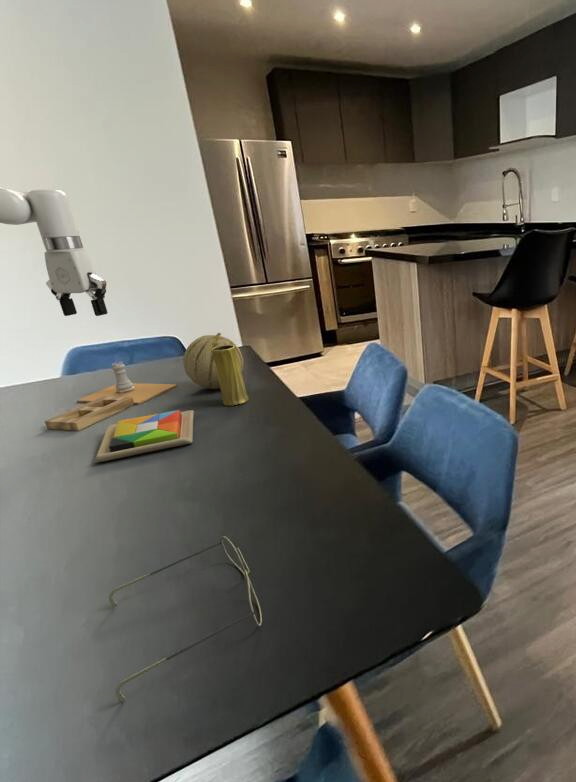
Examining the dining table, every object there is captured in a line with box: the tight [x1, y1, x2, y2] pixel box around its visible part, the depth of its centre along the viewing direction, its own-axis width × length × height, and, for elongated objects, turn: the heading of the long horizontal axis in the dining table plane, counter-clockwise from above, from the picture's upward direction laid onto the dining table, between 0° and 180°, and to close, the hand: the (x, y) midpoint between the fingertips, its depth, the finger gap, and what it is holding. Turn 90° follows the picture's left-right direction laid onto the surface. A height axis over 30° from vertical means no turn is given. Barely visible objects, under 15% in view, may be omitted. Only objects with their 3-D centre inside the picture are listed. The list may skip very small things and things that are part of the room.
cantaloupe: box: [182, 332, 244, 390], centre depth 134 cm, size 15×15×15 cm
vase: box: [212, 345, 250, 407], centre depth 122 cm, size 6×6×14 cm
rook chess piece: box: [110, 361, 135, 393], centre depth 135 cm, size 4×4×8 cm
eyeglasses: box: [108, 535, 263, 704], centre depth 57 cm, size 16×15×5 cm
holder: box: [44, 396, 135, 432], centre depth 121 cm, size 9×16×2 cm, turn 167°
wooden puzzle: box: [93, 409, 195, 464], centre depth 106 cm, size 18×19×4 cm
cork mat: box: [76, 382, 178, 405], centre depth 136 cm, size 20×14×1 cm
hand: (86, 314), depth 126 cm, fingers open, 9 cm apart
